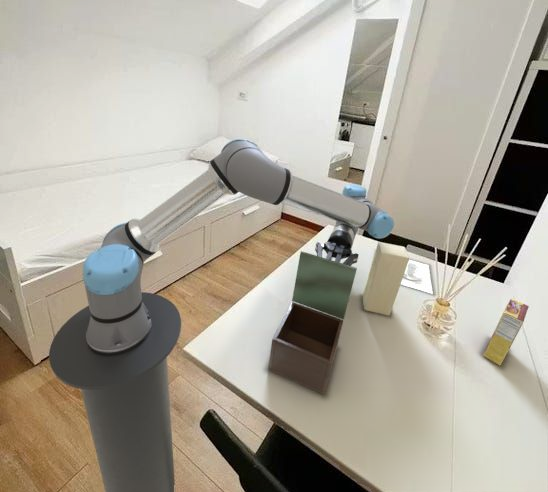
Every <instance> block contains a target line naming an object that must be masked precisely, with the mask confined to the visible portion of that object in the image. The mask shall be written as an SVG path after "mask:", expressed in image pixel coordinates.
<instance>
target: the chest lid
mask: <svg viewBox="0 0 548 492" xmlns="http://www.w3.org/2000/svg"><path fill="white" fill-rule="evenodd" d="M342 263H343V262H340V263H339V262H336V261H335V260H333V259H332V260H329V259H326V257H323V256H322V257H319V256H317V254H316V255H315V254H312V253H309V252H305V251H303V250H300V253H299V258H298V265H297V270H296V276H295V281H294V287H293V293H292V299H291V302H295V303H297V304H300V305H303V306H306V307H308V308H311V309H314V310H317V311H319V312H322V313H325V314H328V315H330V316H333V317H336V318H339V319H341V320H345V317H346V313H347V309H348V305H349V301H350V297H351V294H352V289H353V285H354V282H355V277H356V274H357V271H358V268H357V267H356V266H353V265H351V266H349V265H345V264H342Z"/></svg>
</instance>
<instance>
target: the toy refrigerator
mask: <svg viewBox="0 0 548 492" xmlns="http://www.w3.org/2000/svg"><path fill="white" fill-rule="evenodd" d="M409 260H410V256H409V253H408V252H407V249H406V247H405V246H403V245H397V244H392V243H387V242H382V241H378V242H377V245H376V249H375V252H374V255H373V259H372V262H371V266H370V270H369V273H368V277H367V279H366V282H365V283H366V284H365V287H364V290H363V293H362V304H363V310H364V311H367V312H371V313H376V314H380V315H384V316H391V313H392V311H393V307H394V305H395V301H396V299H397V296H398V293H399V290H400V287H401V281H402V279H403V276H404V273H405V270H406V267H407V264H408V261H409Z"/></svg>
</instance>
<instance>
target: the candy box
mask: <svg viewBox="0 0 548 492" xmlns="http://www.w3.org/2000/svg"><path fill="white" fill-rule="evenodd" d="M529 307H530V306H529V305H527V304H525V303H523V302H521V301H519V300H516V299H514V298H510V299H509V301H508V303H507V304H506V306H505V309H504V311H503V313H502V315H501V317H500V319H499V321H498V323H497V325H496V327H495V329H494V331H493V333H492V335H491V337H490V340H489V342H488V344H487V346H486V348H485V351H484V353H483V355H482V356H483V357H484V358H486V359H487V360H489V361H490V362H492V363H494V364H496V365H497V366H501V365H502V363H503V362H504V360H505V358H506V356H507V354H508V352H509V351H510V348H511V347H512V345H513V343H514V341H515V339H516V337H517V336H518V334H519V332H520V330H521V328H522V326H523V324H524V322H525V319H526V317H527V316H526V315H527V313H528V309H529Z"/></svg>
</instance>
